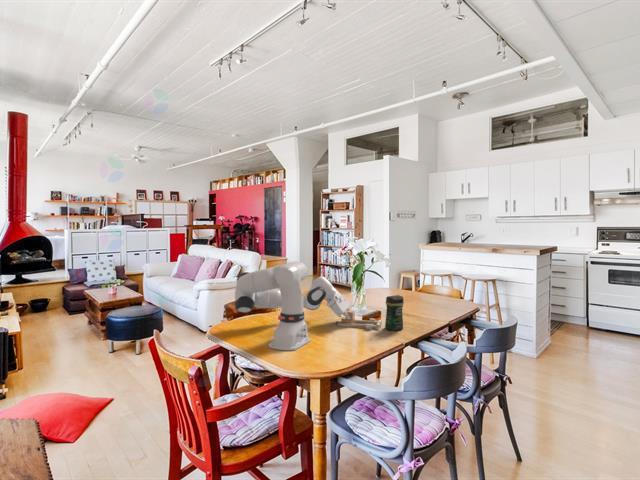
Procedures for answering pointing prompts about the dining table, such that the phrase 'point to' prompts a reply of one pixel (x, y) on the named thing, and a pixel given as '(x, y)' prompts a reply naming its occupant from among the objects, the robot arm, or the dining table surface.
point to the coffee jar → (394, 312)
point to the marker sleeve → (351, 316)
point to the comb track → (362, 324)
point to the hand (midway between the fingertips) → (351, 316)
